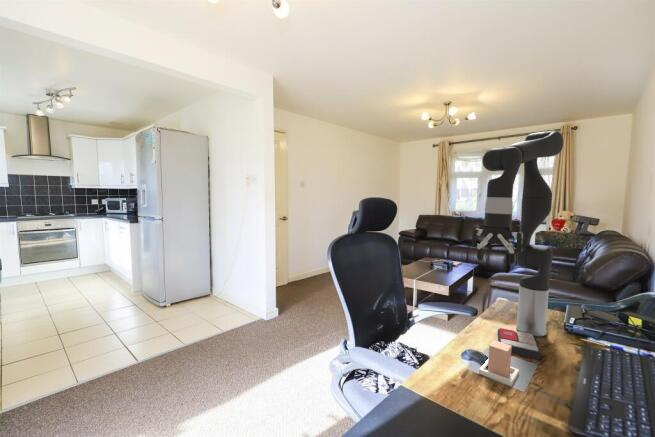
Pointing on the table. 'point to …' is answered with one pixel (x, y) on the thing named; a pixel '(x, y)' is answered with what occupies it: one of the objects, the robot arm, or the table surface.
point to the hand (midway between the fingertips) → (495, 262)
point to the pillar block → (499, 358)
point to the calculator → (520, 342)
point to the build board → (518, 372)
